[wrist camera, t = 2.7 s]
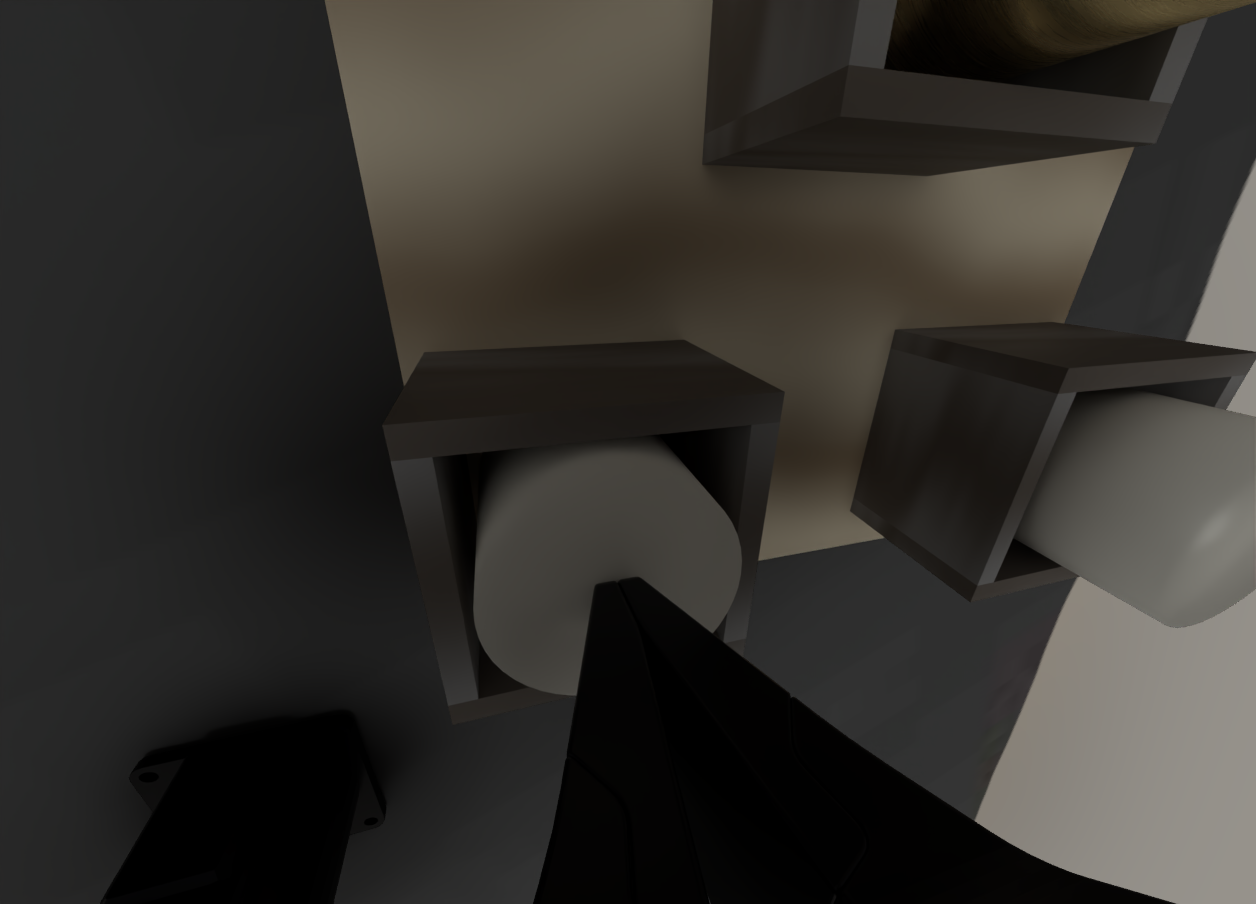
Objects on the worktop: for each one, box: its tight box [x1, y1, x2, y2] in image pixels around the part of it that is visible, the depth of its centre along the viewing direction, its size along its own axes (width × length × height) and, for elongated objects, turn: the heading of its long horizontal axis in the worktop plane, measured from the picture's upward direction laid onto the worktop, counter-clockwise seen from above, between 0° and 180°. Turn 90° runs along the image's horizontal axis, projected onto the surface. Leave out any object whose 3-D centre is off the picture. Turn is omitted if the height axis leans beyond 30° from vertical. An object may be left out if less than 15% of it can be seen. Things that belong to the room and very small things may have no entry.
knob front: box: [473, 435, 742, 696], centre depth 11 cm, size 5×5×5 cm
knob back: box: [1013, 387, 1256, 628], centre depth 12 cm, size 5×5×5 cm
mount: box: [325, 0, 1256, 725], centre depth 11 cm, size 20×22×6 cm
